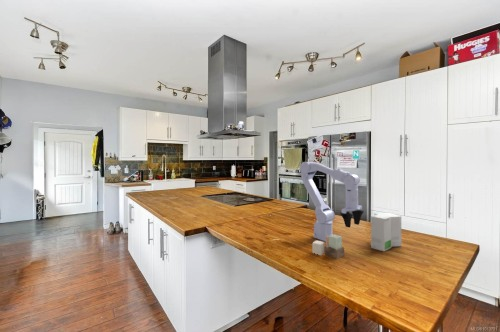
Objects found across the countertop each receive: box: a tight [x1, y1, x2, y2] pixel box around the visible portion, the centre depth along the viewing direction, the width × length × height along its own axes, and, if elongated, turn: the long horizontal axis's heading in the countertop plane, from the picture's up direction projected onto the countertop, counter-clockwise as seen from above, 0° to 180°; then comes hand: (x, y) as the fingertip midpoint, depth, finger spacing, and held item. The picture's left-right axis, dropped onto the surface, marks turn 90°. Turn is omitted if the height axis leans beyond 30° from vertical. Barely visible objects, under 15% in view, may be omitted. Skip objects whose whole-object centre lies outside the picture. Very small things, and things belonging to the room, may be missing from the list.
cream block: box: [312, 239, 325, 256], centre depth 107 cm, size 4×4×5 cm
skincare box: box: [370, 214, 392, 252], centre depth 112 cm, size 8×7×16 cm
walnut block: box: [324, 245, 345, 260], centre depth 105 cm, size 6×6×4 cm
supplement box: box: [373, 212, 402, 248], centre depth 118 cm, size 9×9×15 cm
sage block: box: [329, 233, 343, 249], centre depth 104 cm, size 4×4×5 cm
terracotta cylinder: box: [325, 236, 329, 247], centre depth 114 cm, size 4×4×5 cm
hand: (352, 225), depth 114 cm, fingers open, 7 cm apart
